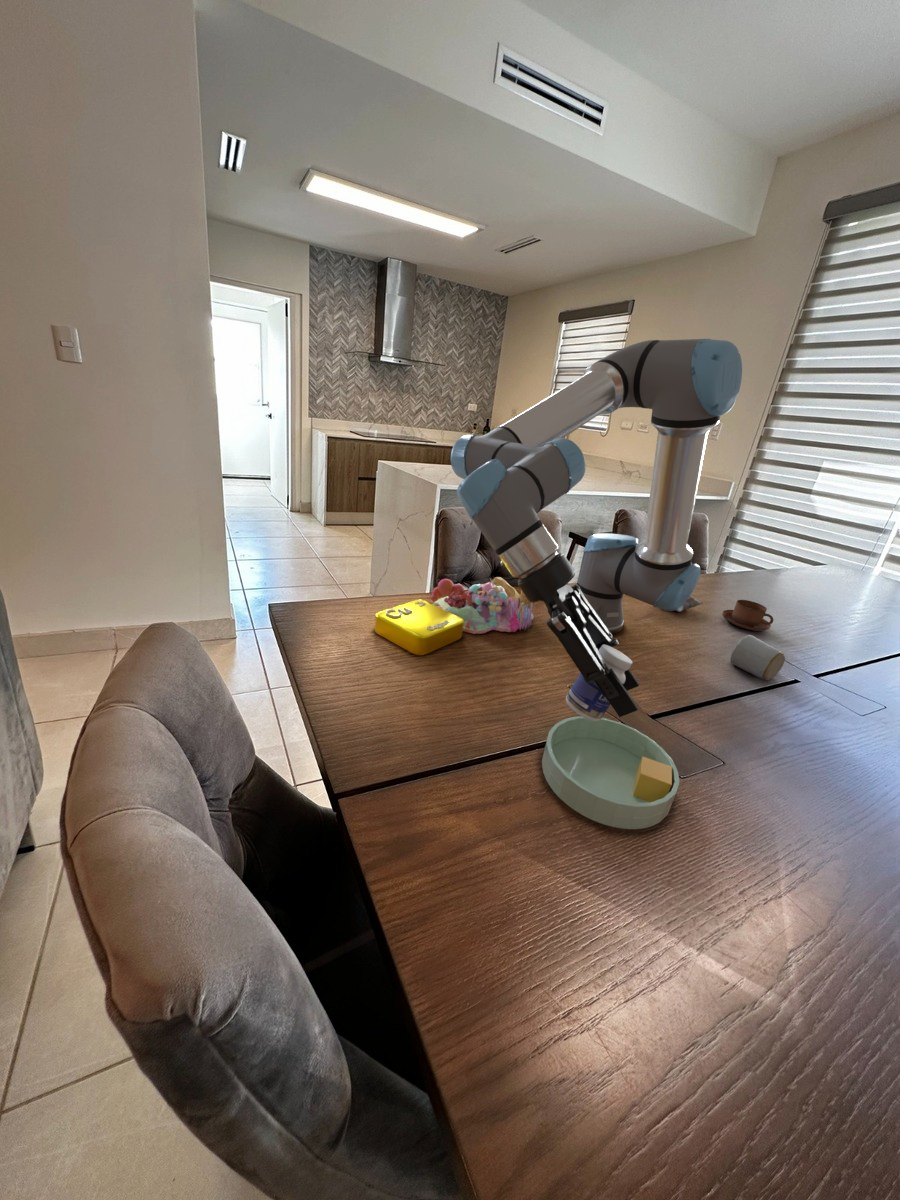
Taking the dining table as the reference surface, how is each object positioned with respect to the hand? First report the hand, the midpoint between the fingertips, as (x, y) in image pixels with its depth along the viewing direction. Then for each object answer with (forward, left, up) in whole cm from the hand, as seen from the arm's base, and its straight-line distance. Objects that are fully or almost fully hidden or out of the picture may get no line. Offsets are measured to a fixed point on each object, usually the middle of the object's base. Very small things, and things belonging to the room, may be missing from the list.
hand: (629, 699), depth 67 cm
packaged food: (-27, +78, -13) cm, 84 cm away
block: (+6, 0, -12) cm, 13 cm away
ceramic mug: (+1, +58, -13) cm, 60 cm away
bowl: (+1, -3, -12) cm, 13 cm away
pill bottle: (-5, -4, -3) cm, 7 cm away
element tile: (-49, 0, -13) cm, 51 cm away
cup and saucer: (-11, +86, -13) cm, 88 cm away
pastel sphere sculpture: (-50, +21, -13) cm, 56 cm away
